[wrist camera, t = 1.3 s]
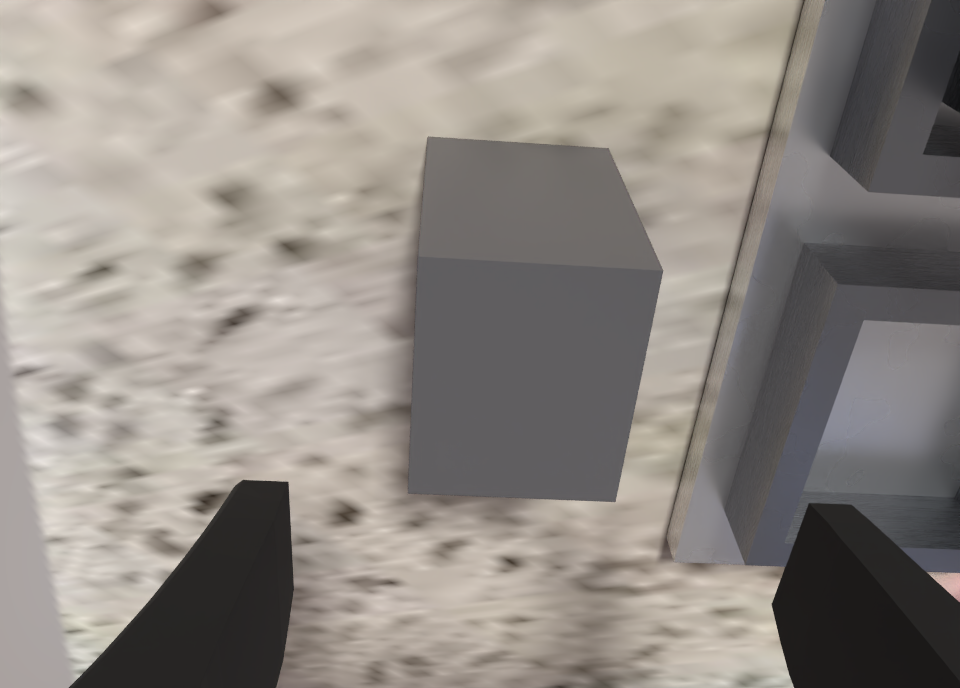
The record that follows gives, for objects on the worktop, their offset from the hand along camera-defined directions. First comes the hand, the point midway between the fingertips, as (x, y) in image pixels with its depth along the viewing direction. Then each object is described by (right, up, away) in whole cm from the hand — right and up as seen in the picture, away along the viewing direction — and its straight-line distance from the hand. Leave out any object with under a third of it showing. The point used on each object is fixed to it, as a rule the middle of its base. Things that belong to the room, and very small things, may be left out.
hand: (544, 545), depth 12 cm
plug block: (0, +5, +8) cm, 10 cm away
